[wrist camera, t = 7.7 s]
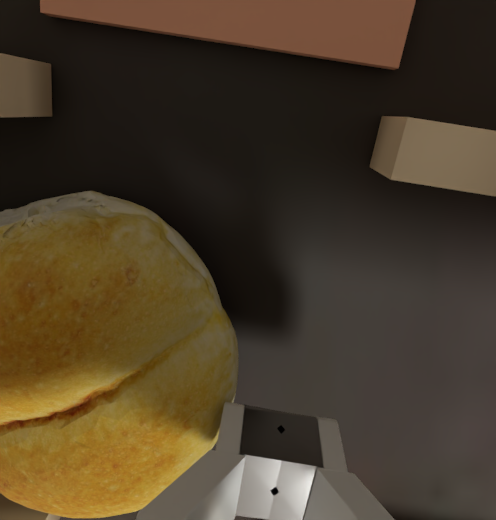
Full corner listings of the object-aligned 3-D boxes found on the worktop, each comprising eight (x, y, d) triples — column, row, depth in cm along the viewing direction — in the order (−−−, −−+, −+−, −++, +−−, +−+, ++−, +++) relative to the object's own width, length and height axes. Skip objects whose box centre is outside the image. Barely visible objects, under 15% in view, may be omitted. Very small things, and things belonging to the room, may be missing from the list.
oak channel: (763, 176, 9) (1086, 218, 6) (513, 592, 15) (594, 755, 11) (-249, 17, 10) (-578, -43, 6) (-131, 481, 15) (-266, 603, 11)
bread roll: (50, 467, 14) (-31, 594, 11) (-83, 234, 11) (-258, 293, 8) (275, 430, 13) (274, 559, 9) (188, 155, 10) (135, 181, 6)
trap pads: (486, -303, 7) (499, -328, 7) (245, 659, 17) (245, 671, 17) (40, -367, 7) (27, -395, 7) (64, 627, 17) (60, 638, 17)
